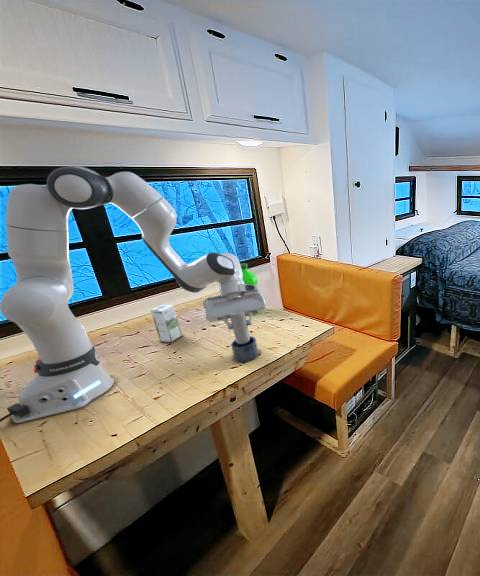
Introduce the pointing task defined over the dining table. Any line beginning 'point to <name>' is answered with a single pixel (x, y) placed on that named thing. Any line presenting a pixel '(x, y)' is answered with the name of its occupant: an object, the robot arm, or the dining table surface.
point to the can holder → (245, 350)
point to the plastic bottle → (248, 275)
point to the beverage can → (240, 326)
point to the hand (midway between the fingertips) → (240, 326)
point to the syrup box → (166, 323)
